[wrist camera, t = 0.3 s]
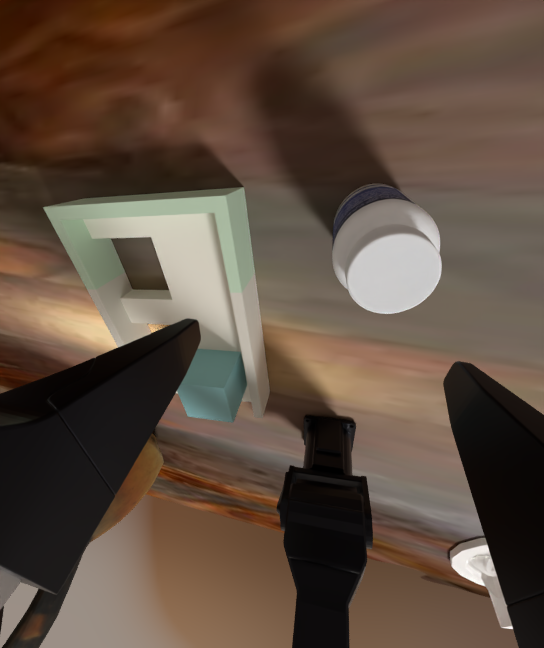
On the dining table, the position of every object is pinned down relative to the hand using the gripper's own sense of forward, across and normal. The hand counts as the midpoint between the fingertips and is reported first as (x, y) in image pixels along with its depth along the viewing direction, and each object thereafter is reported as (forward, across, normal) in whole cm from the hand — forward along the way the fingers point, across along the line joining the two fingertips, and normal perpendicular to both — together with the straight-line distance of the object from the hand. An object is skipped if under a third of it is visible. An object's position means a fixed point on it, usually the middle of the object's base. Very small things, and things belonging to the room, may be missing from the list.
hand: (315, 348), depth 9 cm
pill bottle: (+14, -3, -1) cm, 15 cm away
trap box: (+14, +13, +10) cm, 22 cm away
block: (+12, +9, +15) cm, 21 cm away
